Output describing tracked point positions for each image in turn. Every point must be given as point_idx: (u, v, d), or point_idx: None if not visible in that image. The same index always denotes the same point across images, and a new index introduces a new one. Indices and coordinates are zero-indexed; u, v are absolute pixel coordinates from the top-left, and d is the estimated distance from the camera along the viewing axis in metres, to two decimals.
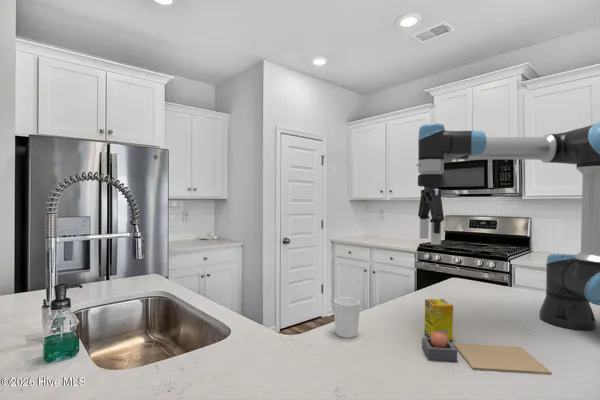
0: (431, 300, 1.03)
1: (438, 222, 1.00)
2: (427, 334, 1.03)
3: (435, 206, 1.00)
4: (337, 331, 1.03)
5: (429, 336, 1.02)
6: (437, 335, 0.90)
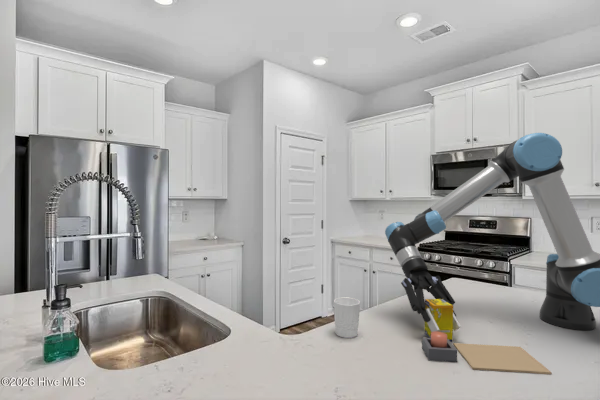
0: (431, 300, 1.03)
1: (420, 310, 1.01)
2: (427, 334, 1.03)
3: (408, 297, 1.05)
4: (337, 331, 1.03)
5: (429, 336, 1.02)
6: (437, 335, 0.90)
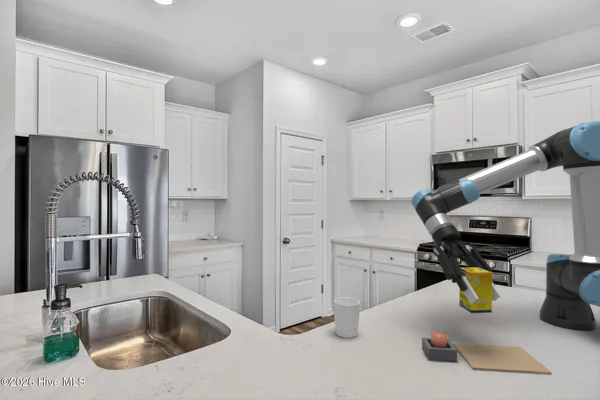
0: (467, 268, 0.95)
1: (456, 279, 0.93)
2: (463, 305, 0.95)
3: (442, 266, 0.96)
4: (337, 331, 1.03)
5: (465, 307, 0.93)
6: (437, 335, 0.90)
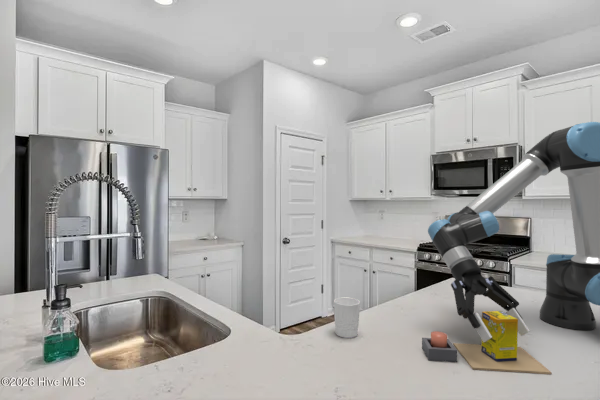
0: (490, 312, 0.91)
1: (468, 315, 0.89)
2: (486, 351, 0.91)
3: (456, 300, 0.93)
4: (337, 331, 1.03)
5: (489, 354, 0.89)
6: (437, 335, 0.90)
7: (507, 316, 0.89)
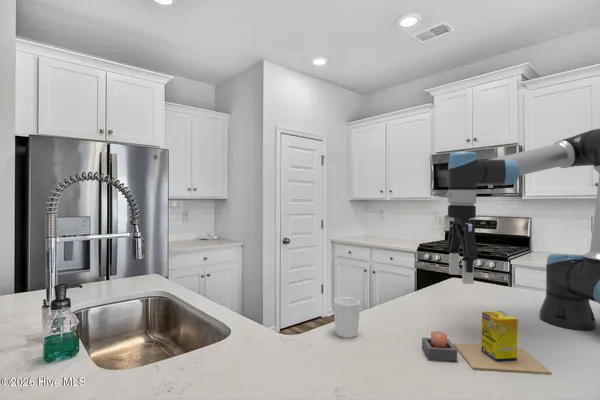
0: (490, 312, 0.91)
1: (471, 261, 0.95)
2: (486, 351, 0.91)
3: (468, 244, 0.94)
4: (337, 331, 1.03)
5: (489, 354, 0.89)
6: (437, 335, 0.90)
7: (507, 316, 0.89)
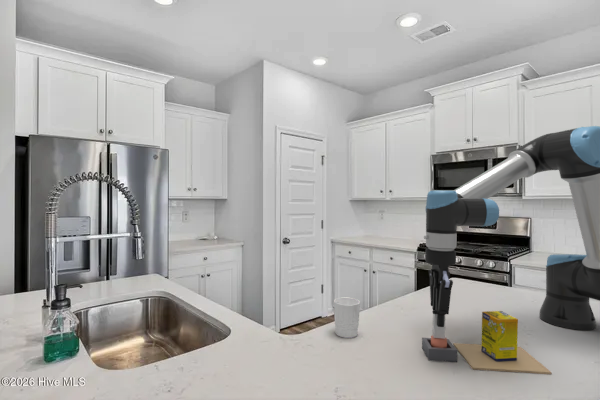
0: (490, 312, 0.91)
1: (442, 315, 0.89)
2: (486, 351, 0.91)
3: (441, 300, 0.87)
4: (337, 331, 1.03)
5: (489, 354, 0.89)
6: (437, 339, 0.90)
7: (507, 316, 0.89)
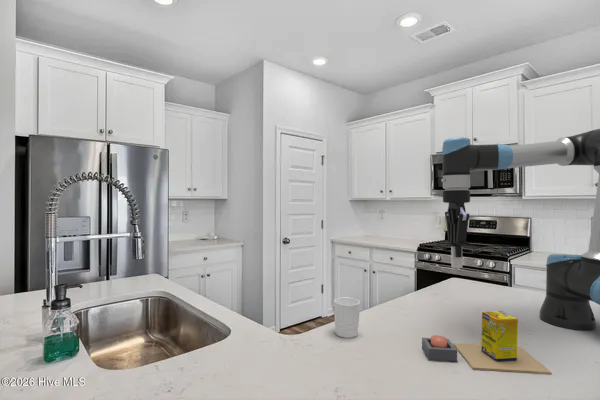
0: (490, 312, 0.91)
1: (460, 246, 1.02)
2: (486, 351, 0.91)
3: (459, 232, 1.00)
4: (337, 331, 1.03)
5: (489, 354, 0.89)
6: (437, 339, 0.90)
7: (507, 316, 0.89)
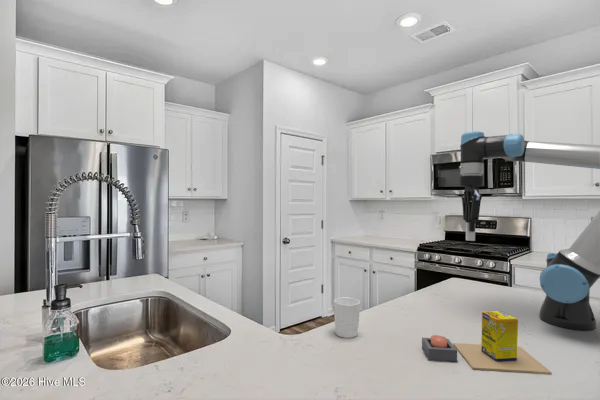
0: (490, 312, 0.91)
1: (473, 222, 1.23)
2: (486, 351, 0.91)
3: (473, 210, 1.20)
4: (337, 331, 1.03)
5: (489, 354, 0.89)
6: (437, 339, 0.90)
7: (507, 316, 0.89)
